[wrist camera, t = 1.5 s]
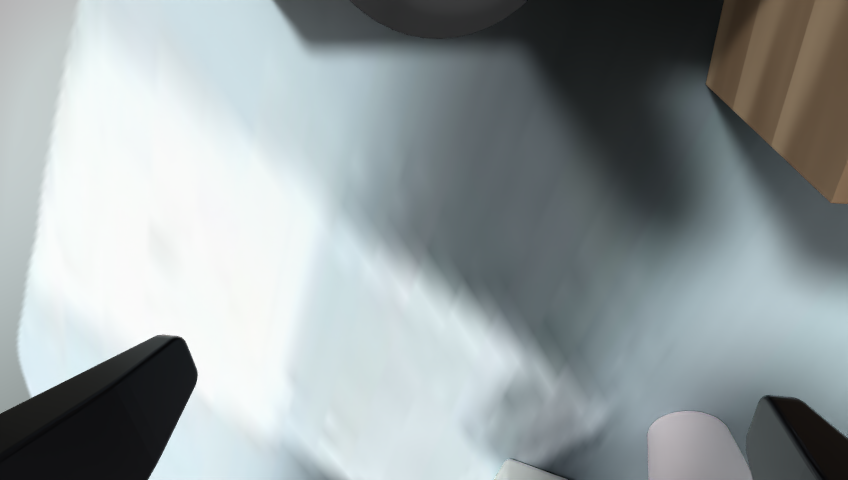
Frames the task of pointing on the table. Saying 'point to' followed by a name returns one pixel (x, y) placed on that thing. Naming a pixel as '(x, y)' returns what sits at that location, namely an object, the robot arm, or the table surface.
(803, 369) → the table surface
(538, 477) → the medicine bottle
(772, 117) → the wooden mallet
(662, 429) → the smoothie
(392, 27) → the door handle
